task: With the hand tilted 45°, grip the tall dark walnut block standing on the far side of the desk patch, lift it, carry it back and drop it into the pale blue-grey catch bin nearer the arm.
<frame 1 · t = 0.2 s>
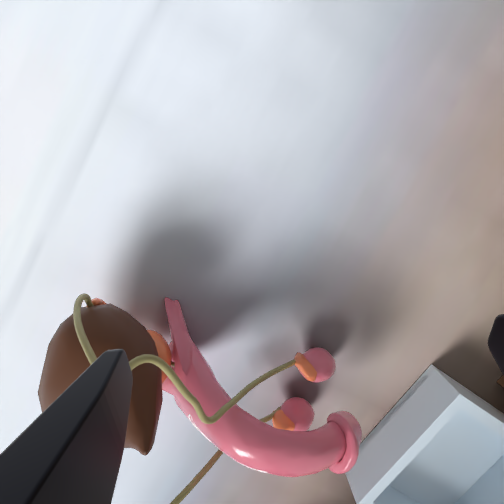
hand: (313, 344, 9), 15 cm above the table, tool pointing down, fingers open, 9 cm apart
anatomy model: (215, 353, 26), on the table
catch bin: (435, 447, 29), on the table
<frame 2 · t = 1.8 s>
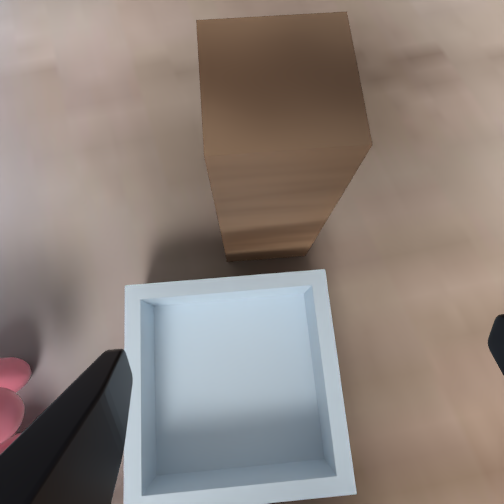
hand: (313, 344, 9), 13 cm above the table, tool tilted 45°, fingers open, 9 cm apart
walnut block: (262, 221, 24), on the table
catch bin: (235, 378, 21), on the table
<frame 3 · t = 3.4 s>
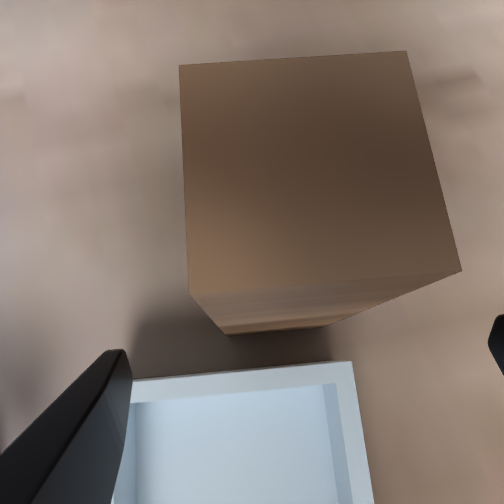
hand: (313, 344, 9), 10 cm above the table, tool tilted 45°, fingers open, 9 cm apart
walnut block: (269, 284, 20), on the table
catch bin: (237, 489, 17), on the table
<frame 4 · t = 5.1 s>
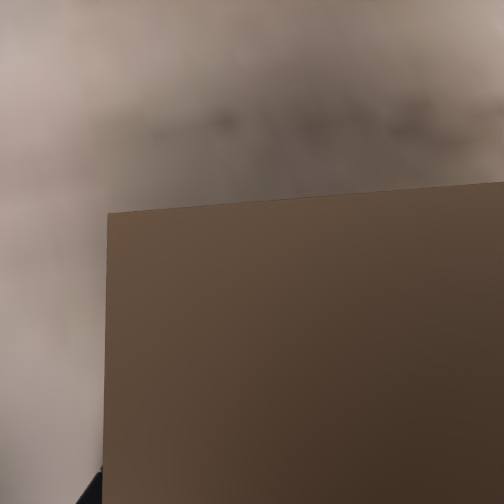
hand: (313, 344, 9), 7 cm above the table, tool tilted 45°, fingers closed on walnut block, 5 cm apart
walnut block: (289, 385, 15), on the table, touching gripper
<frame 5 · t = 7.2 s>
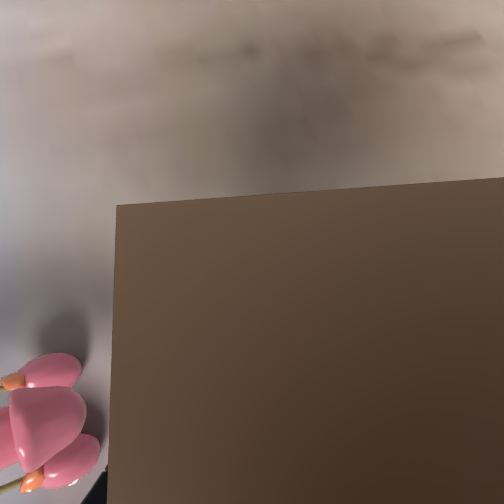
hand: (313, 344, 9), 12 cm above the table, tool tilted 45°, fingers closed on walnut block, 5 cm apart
walnut block: (293, 384, 15), point 6 cm above the table, touching gripper
when the fingers open (8 cm above the table, at t = 9.1 s): walnut block stays where it is, resting on catch bin.
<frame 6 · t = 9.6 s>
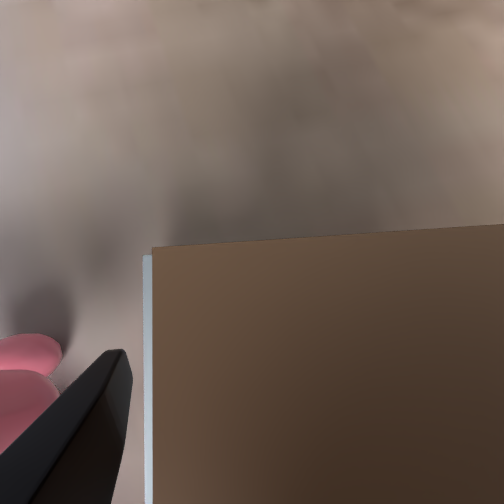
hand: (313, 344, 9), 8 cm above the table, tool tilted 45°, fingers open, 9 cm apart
walnut block: (286, 385, 16), point 1 cm above the table, touching catch bin
catch bin: (285, 381, 16), on the table
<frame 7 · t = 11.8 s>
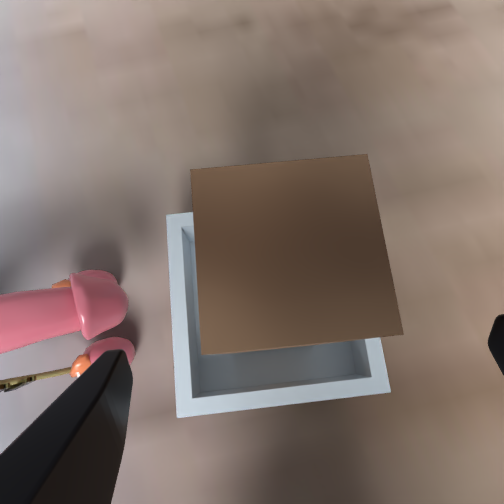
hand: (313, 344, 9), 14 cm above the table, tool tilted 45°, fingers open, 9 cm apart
anatomy model: (2, 360, 22), on the table
walnut block: (268, 306, 22), point 1 cm above the table, touching catch bin
catch bin: (268, 306, 23), on the table
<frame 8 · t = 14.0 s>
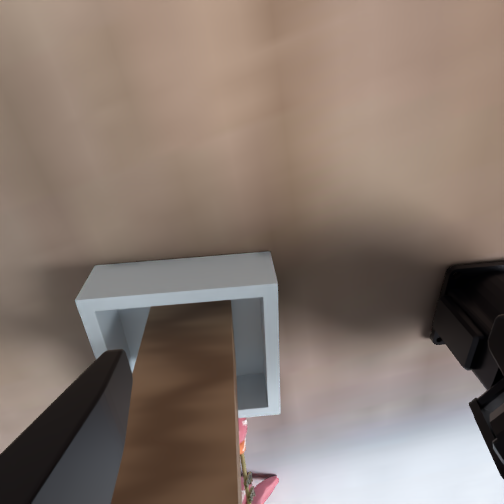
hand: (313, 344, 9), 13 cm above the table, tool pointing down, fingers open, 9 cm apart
anatomy model: (231, 458, 33), on the table
walnut block: (195, 331, 24), point 1 cm above the table, touching catch bin
catch bin: (194, 325, 25), on the table
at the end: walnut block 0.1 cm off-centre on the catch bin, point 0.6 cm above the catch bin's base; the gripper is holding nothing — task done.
